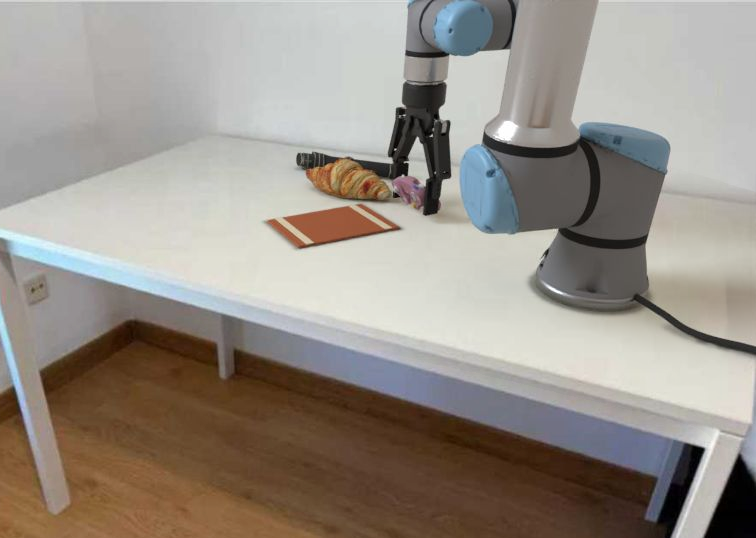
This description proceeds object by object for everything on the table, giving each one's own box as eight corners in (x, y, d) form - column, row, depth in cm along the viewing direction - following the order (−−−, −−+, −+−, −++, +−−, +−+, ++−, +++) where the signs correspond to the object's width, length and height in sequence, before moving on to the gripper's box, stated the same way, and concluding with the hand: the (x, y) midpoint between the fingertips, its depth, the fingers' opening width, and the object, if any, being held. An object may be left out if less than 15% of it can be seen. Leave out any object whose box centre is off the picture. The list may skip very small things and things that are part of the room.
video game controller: (395, 206, 134) (384, 177, 130) (413, 193, 135) (402, 164, 130) (425, 223, 127) (414, 192, 122) (444, 208, 127) (434, 178, 123)
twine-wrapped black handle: (403, 161, 148) (300, 148, 158) (396, 162, 144) (290, 149, 154) (401, 181, 150) (298, 167, 160) (393, 183, 145) (288, 168, 155)
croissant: (396, 215, 139) (409, 176, 138) (374, 204, 131) (387, 163, 130) (313, 193, 151) (324, 157, 149) (288, 182, 142) (299, 144, 141)
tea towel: (399, 228, 124) (399, 226, 123) (298, 248, 117) (298, 245, 117) (361, 205, 135) (361, 203, 134) (267, 222, 128) (267, 219, 128)
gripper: (484, 90, 111) (467, 221, 122) (408, 69, 128) (399, 185, 140) (445, 95, 108) (431, 228, 120) (373, 73, 126) (367, 191, 138)
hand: (414, 205), depth 130 cm, fingers closed on video game controller, 10 cm apart
